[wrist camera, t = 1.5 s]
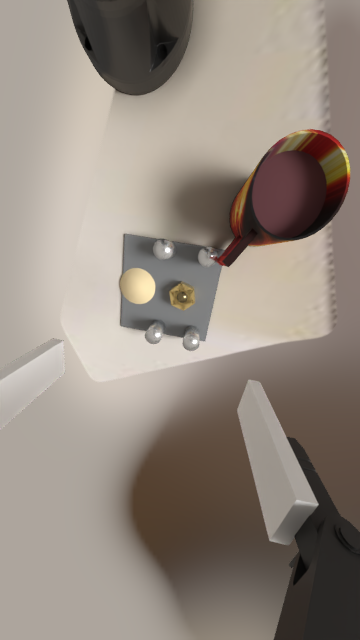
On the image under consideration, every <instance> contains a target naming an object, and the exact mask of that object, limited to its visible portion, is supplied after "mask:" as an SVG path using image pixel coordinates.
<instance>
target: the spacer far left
mask: <svg viewBox="0 0 360 640" xmlns="http://www.w3.org/2000/svg"><path fill="white" fill-rule="evenodd" d="M165 329H166V325H165V323H164V322H163V321H162V320H155V321H153V323H152V324H151V326H150V327H149V329H148V330H147V332H146V333H145V338H146V340H147V341H148V342H149V343H151V344H157V343H159V342H160V340H161V338H162V336H163V333H164V331H165Z"/></svg>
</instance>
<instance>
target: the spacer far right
mask: <svg viewBox="0 0 360 640" xmlns="http://www.w3.org/2000/svg"><path fill="white" fill-rule="evenodd" d="M183 346H184V348H185V349H186V350H189V351H194V350H196V349H197V348H198V347H199V329H198V328H197V327H196V326H188V327H187V328H186V329H185V333H184V338H183Z"/></svg>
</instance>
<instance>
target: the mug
mask: <svg viewBox="0 0 360 640" xmlns="http://www.w3.org/2000/svg"><path fill="white" fill-rule="evenodd" d="M349 182H350V165H349V159H348V156H347V154H346V152H345V149H344V148H343V146H342V145H341V144H340V142H339V141H338V140H337V139H336V138H334V137H333V136H332V135H331V134H328V133H326V132H323V131H320V130H313V129H310V130H301V131H298V132H295V133H292V134H289V135H288V136H286V137H284V138H282V139H281V140H279V141H278V142H277V143H276V144H275V145H273V146H272V147H271V148H270V149H269V150H268V152H267V153H266V154H265V155H264V156H263V158H262V159H261V161H260V162H259V164H258V165H257V166H256V168H255V169H254V171H253V172H252V174H251V175H250V177H249V178H248V180H247V181H246V183H245V184H244V186H243V187H242V188H241V190H240V191H239V193H238V194H237V196H236V198H235V199H234V201H233V204H232V206H231V210H230V226H231V229H232V232H233V233H234V235H235V237H236V238H235V239H234V240H233V241H232V243H231V244H230V245H229V246H228V247H227V249H226V250H225V251H224V252H223V253H222V255H221V256H220V257H219V258H218V259H217V261H216V262H217V263H218V264H219V265H222V266H223V265H224V266H227V267H229V266H230V265H231V264H232V263H233V262H234V261H235V260H236V259H237V257H238V256H239V255H240V254H241V253H242V252H243V251H244V249H245V248H246V247H247V246H248V245H249V246H264V245H270V244H276V243H282V242H288V241H294V240H299V239H303V238H306V237H308V236H311V235H313V234H315V233H316V232H318V231H319V230H321V229H322V228H324V227H325V226H326V225H327V224H328V223H329V222H330V221H331V220H332V219H333V217H334V216H335V215H336V213H337V212H338V211H339V209H340V207H341V205H342V204H343V202H344V199H345V197H346V194H347V192H348V187H349Z"/></svg>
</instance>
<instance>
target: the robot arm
mask: <svg viewBox="0 0 360 640" xmlns="http://www.w3.org/2000/svg"><path fill="white" fill-rule="evenodd" d="M67 1H68V5H69V8H70V12H71V16H72V19H73V23H74V26H75V29H76V32H77V34H78V37H79V39H80V42H81V44H82V46H83V48H84V50H85V52H86V53H87V55H88V57H89V59H90V60H91V62H92V64H93V66H94V67H95V69H96V70H97V72H98V73H99V75H100V76H101V77H102V78H103V79H104V80H105V81H106V82H107V83H108V84H109V85H111V86H112V87H113V88H115V89H117V90H119V91H121V92H123V93H127V94H133V95H139V94H145V93H148V92H151V91H153V90H155V89H157V88H158V87H160V86H161V85H162V84H164V83H165V82H166V81H167V80H168V79H169V78H170V77H171V75H172V74H173V73H174V71H175V70H176V68H177V67H178V65H179V63H180V61H181V59H182V57H183V55H184V53H185V50H186V47H187V44H188V41H189V37H190V32H191V26H192V17H193V0H67ZM64 373H65V366H64V341H63V340H59V339H54V338H53V339H51V340H49V341H48V342H46V343H44V344H42V345H41V346H39V347H37V348H35V349H34V350H32V351H30V352H28V353H27V354H25V355H23V356H21V357H20V358H18V359H16V360H14V361H13V362H11V363H9V364H7V365H6V366H4V367H2V368H0V430H1V429H2V428H3V427H4V426H5V425H6V424H7V423H9V422H10V421H11V420H12V419H13V418H14V417H15V416H16V415H18V414H19V413H20V412H21V411H22V410H23V409H24V408H26V407H27V406H28V405H29V404H30V403H31V402H32V401H33V400H35V399H36V398H37V397H38V396H39V395H40V394H41V393H43V392H44V391H45V390H46V389H47V388H48V387H49V386H51V385H52V384H53V383H54V382H55V381H56V380H57V379H58V378H60V376H62V375H63V374H64ZM237 411H238V416H239V420H240V424H241V428H242V431H243V436H244V439H245V444H246V448H247V452H248V456H249V460H250V464H251V468H252V472H253V476H254V480H255V484H256V488H257V492H258V496H259V500H260V504H261V508H262V512H263V517H264V521H265V525H266V529H267V533H268V537H269V540H270V541H272V542H277V543H281V544H285V545H289V544H290V543H291V541H292V540H293V539H294V537H295V539H296V542H297V545H298V548H299V552H298V553H297V554H296V555H295V557H294V558H293V559H292V561H291V562H290V564H289V566H290V567H291V568H292V567H293V570H292V574H291V577H290V581H289V585H288V589H287V592H286V596H285V600H284V603H283V607H282V611H281V615H280V618H279V622H278V626H277V630H276V633H275V637H274V640H360V532H359V531H358V530H357V529H356V528H355V527H354V526H353V525H352V524H351V523H350V522H349V521H347V520H346V519H344V518H343V517H341V516H340V514H339V513H338V511H337V509H336V507H335V505H334V503H333V502H332V500H331V498H330V496H329V494H328V492H327V490H326V489H325V487H324V485H323V483H322V481H321V479H320V478H319V476H318V474H317V473H316V471H315V468H314V467H313V465H312V463H311V462H310V459H309V457H308V455H307V454H306V452H305V450H304V449H303V447H302V446H301V445H300V444H299V443H298V442H297V440H296V439H295V438H290V437H286V436H285V433H284V432H283V429H282V428H281V425H280V423H279V421H278V419H277V417H276V415H275V413H274V411H273V408H272V406H271V404H270V402H269V400H268V398H267V396H266V394H265V392H264V390H263V388H262V386H261V384H260V382H258V381H253V380H248V383H247V386H246V388H245V391H244V393H243V396H242V399H241V401H240V404H239V407H238V409H237Z"/></svg>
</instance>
